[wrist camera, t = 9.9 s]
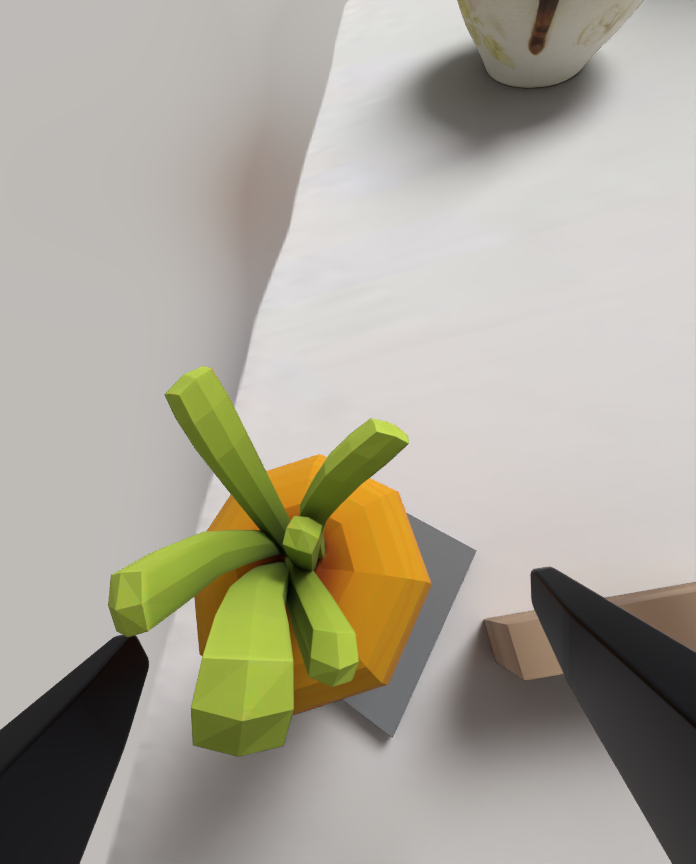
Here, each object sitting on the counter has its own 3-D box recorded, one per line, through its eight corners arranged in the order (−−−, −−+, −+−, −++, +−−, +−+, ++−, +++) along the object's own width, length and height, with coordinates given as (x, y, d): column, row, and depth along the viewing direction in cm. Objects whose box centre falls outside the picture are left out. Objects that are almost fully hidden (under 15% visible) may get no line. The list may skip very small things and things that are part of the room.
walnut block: (696, 581, 16) (784, 576, 12) (718, 624, 15) (818, 631, 11) (483, 619, 16) (507, 624, 13) (495, 661, 15) (524, 680, 12)
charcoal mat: (392, 732, 15) (392, 738, 14) (240, 618, 17) (235, 618, 17) (474, 552, 17) (476, 550, 17) (329, 474, 20) (327, 470, 19)
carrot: (313, 527, 18) (58, 306, 5) (417, 536, 17) (472, 302, 4) (297, 642, 16) (-240, 848, 3) (413, 660, 15) (496, 1078, 2)
